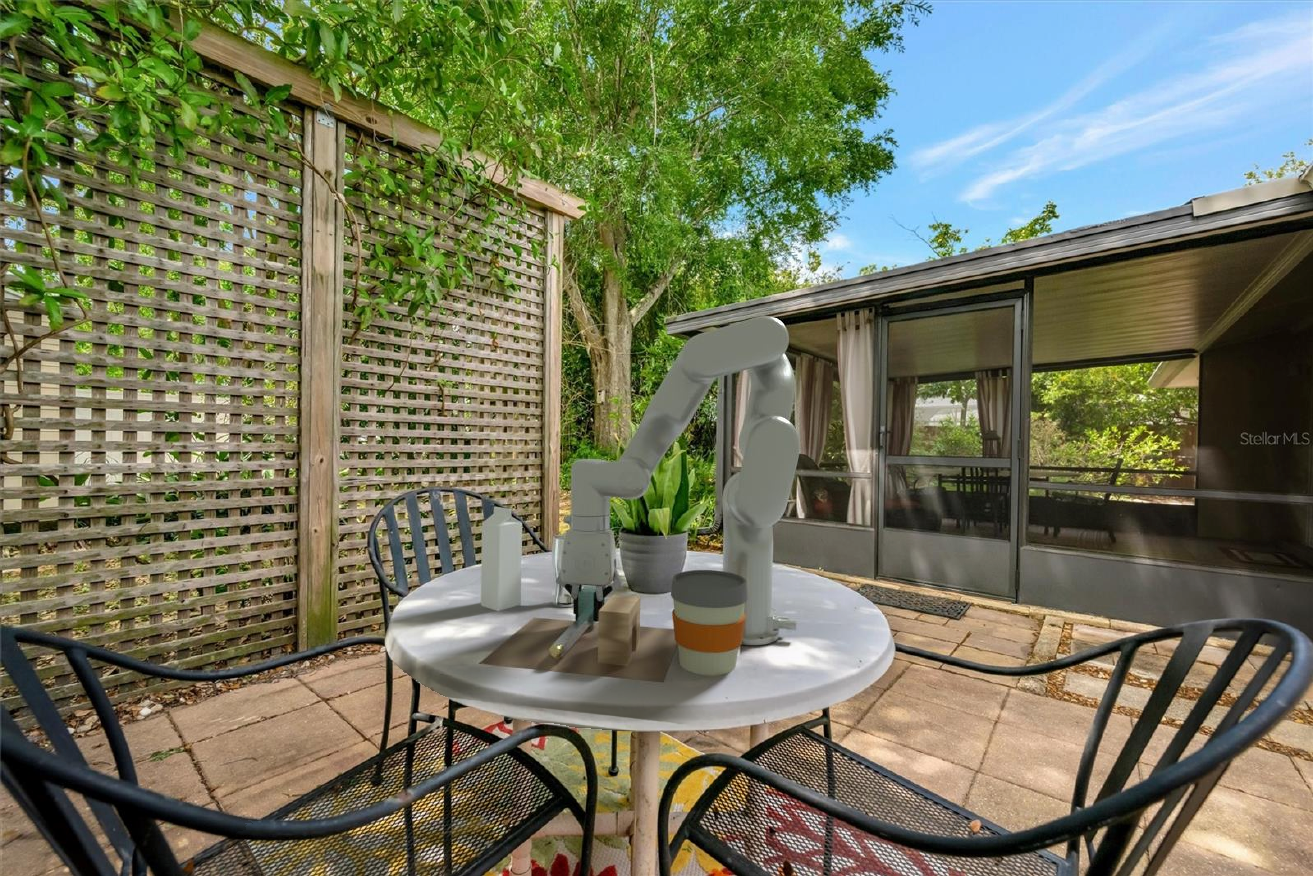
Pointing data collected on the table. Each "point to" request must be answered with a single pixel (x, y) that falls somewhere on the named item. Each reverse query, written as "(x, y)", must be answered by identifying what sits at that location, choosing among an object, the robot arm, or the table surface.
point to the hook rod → (576, 623)
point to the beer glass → (561, 594)
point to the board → (584, 652)
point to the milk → (501, 561)
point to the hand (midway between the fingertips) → (588, 617)
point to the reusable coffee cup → (708, 619)
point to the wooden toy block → (618, 629)
